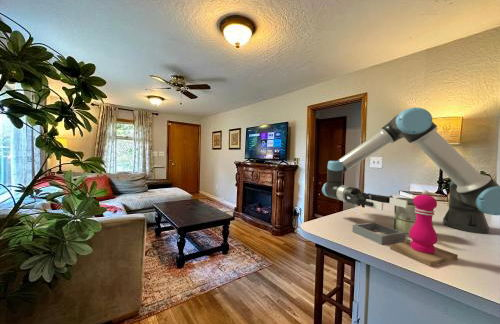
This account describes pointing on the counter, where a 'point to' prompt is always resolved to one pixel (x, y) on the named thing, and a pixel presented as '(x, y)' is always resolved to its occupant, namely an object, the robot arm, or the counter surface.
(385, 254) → the counter surface
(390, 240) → the holder
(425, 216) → the pepper mill
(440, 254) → the board
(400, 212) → the coffee can
